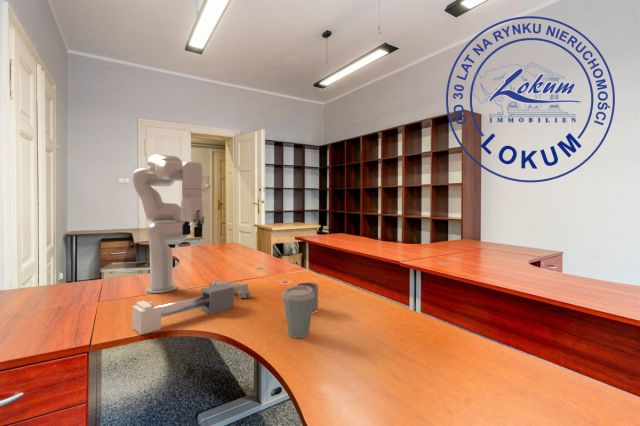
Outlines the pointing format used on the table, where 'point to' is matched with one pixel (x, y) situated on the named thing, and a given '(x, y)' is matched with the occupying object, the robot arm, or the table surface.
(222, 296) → the grey rectangular box
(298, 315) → the disposable coffee cup
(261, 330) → the table surface
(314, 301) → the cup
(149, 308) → the socket
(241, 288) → the grey stepped bar
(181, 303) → the tube
